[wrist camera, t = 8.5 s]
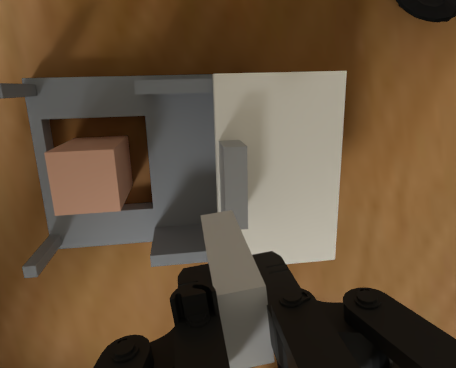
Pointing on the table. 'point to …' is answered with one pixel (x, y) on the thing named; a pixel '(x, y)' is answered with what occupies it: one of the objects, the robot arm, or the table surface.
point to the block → (89, 175)
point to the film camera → (430, 9)
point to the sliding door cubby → (158, 161)
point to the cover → (281, 159)
